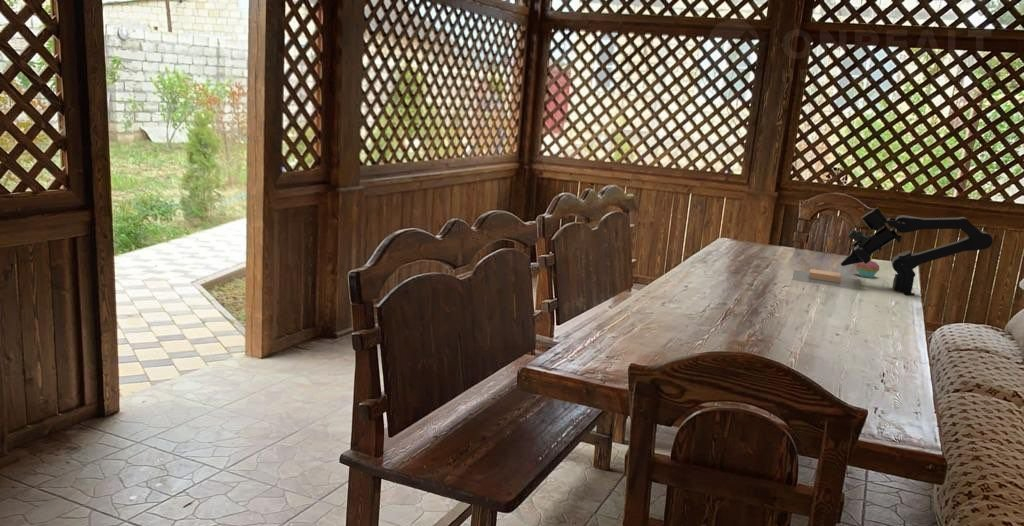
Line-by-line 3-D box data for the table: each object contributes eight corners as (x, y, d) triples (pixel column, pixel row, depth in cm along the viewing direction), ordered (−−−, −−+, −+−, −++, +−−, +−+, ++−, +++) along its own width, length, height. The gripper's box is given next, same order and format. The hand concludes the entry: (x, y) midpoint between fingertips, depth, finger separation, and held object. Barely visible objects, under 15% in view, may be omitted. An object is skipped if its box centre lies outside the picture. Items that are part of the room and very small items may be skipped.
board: (859, 281, 285) (859, 279, 285) (862, 292, 267) (862, 290, 267) (793, 271, 294) (793, 269, 294) (791, 281, 276) (792, 279, 276)
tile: (840, 273, 281) (810, 268, 285) (841, 276, 275) (809, 272, 279) (839, 279, 282) (809, 275, 286) (840, 283, 276) (808, 278, 279)
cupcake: (881, 281, 288) (887, 251, 286) (859, 279, 288) (865, 249, 286) (871, 276, 297) (876, 247, 294) (850, 274, 297) (855, 245, 294)
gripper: (863, 219, 280) (827, 244, 287) (866, 226, 263) (827, 252, 270) (882, 242, 279) (845, 266, 286) (886, 250, 262) (847, 276, 269)
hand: (841, 264), depth 277 cm, fingers closed
